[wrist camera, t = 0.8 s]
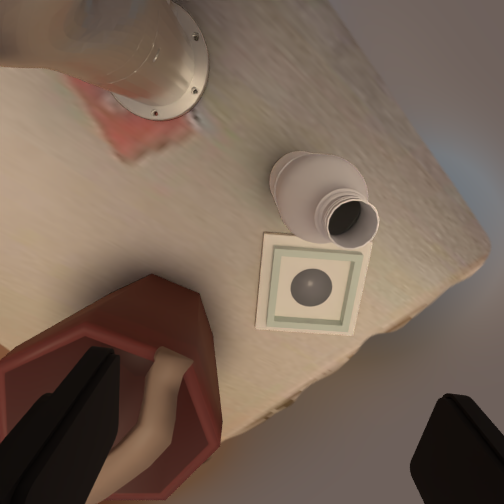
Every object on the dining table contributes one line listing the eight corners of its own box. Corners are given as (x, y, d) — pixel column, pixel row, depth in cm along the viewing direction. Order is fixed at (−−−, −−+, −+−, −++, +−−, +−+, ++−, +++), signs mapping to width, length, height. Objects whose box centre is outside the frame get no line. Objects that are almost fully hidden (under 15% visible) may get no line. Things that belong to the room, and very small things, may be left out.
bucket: (195, 231, 44) (126, 334, 20) (263, 351, 50) (272, 537, 26) (53, 301, 47) (-148, 458, 23) (134, 404, 54) (39, 610, 30)
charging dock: (263, 232, 44) (264, 237, 41) (370, 240, 44) (377, 245, 41) (255, 325, 48) (255, 334, 46) (351, 332, 49) (356, 341, 46)
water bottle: (298, 216, 43) (355, 304, 19) (257, 184, 41) (263, 236, 18) (334, 173, 41) (445, 212, 17) (291, 138, 40) (349, 128, 16)
